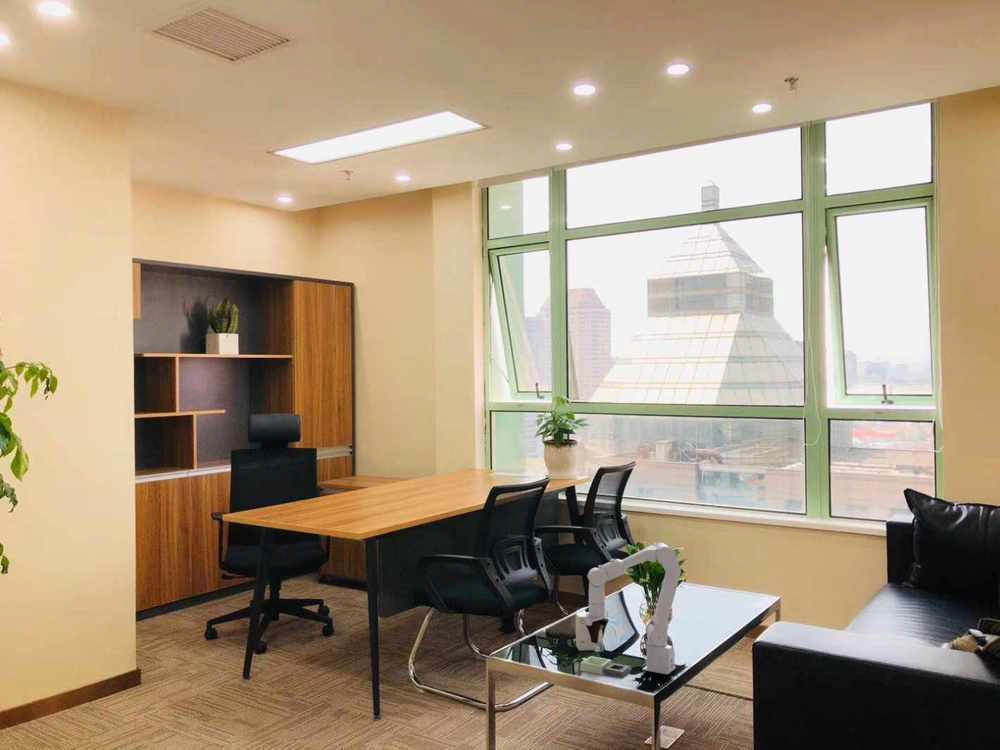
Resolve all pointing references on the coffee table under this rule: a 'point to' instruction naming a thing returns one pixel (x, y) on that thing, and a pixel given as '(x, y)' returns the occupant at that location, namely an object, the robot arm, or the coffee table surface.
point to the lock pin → (599, 641)
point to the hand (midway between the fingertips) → (597, 641)
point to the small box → (583, 633)
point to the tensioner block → (617, 670)
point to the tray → (595, 664)
